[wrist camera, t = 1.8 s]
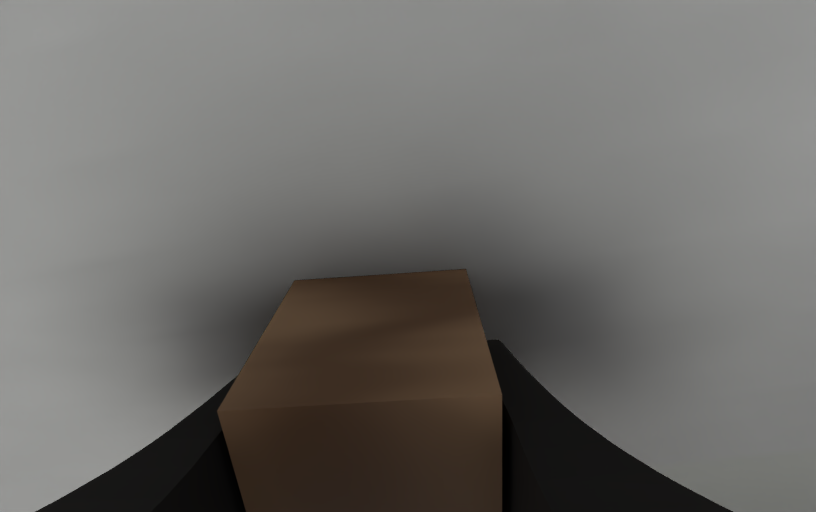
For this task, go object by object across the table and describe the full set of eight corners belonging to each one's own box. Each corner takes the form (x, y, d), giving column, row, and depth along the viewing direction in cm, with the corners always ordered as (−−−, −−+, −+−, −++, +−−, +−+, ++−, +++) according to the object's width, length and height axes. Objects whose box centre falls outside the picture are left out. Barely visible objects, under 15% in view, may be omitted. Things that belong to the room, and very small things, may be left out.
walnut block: (465, 268, 12) (502, 394, 7) (470, 408, 13) (502, 586, 9) (294, 280, 12) (216, 411, 7) (319, 416, 13) (270, 596, 9)
